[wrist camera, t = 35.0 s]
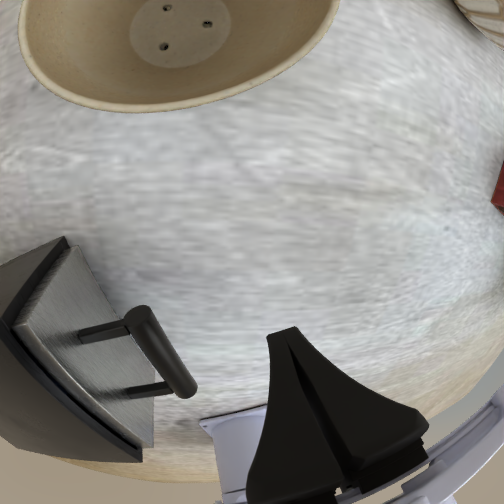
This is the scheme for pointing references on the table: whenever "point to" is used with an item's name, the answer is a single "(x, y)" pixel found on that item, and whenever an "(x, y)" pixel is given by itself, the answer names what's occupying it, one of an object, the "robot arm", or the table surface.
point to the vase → (485, 18)
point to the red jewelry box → (499, 192)
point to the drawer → (100, 350)
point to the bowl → (154, 41)
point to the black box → (44, 381)
